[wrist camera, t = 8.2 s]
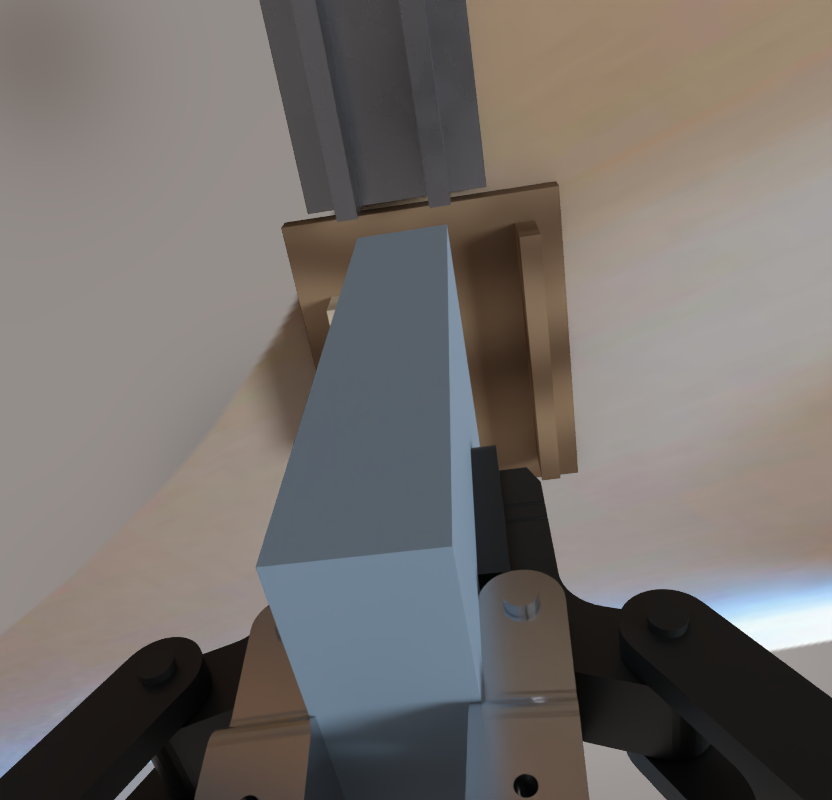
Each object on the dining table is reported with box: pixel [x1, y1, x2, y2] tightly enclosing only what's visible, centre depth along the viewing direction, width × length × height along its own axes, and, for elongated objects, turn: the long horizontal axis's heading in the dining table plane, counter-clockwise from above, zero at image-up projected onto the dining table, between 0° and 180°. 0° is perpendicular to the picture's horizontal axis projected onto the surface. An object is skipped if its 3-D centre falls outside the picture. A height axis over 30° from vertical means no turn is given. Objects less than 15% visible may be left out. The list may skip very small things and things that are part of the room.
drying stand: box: [260, 0, 486, 222], centre depth 34 cm, size 12×9×4 cm
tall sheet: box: [256, 224, 484, 800], centre depth 14 cm, size 8×2×10 cm, turn 9°
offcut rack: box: [281, 182, 578, 480], centre depth 41 cm, size 17×14×4 cm
